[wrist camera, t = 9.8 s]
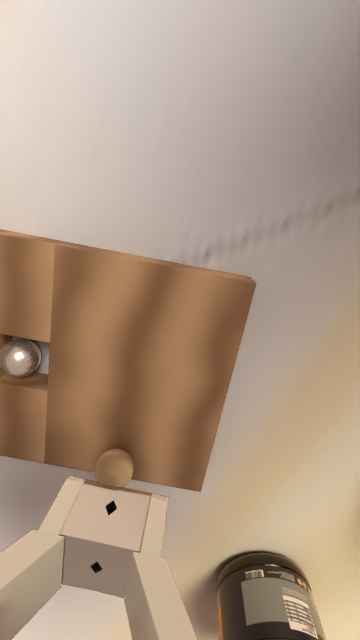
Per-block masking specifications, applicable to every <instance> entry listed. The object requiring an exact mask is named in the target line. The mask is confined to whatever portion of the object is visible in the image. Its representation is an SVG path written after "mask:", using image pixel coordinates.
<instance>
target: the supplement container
mask: <svg viewBox="0 0 360 640" xmlns="http://www.w3.org/2000/svg"><path fill="white" fill-rule="evenodd" d="M216 599H217V607H218V624H219V640H326V638H325V635H324V632H323V628H322V625H321V622H320V619H319V616H318V613H317V609H316V606H315V603H314V600H313V597H312V594H311V588H310V585H309V582H308V580H307V578H306V576H305V574H304V573H303V571H302V570H301V569H300V568H299V567H298V566H297V565H296V564H295V563H294V562H292V561H291V560H289V559H287V558H285V557H282V556H280V555H276V554H272V553H250V554H246V555H243V556H240V557H238V558H236V559H234V560H232V561H231V562H229V563H228V564H227V565H226V566H225V567H224V568H223V569H222V571H221V572H220V574H219V576H218V579H217V583H216Z"/></svg>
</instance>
